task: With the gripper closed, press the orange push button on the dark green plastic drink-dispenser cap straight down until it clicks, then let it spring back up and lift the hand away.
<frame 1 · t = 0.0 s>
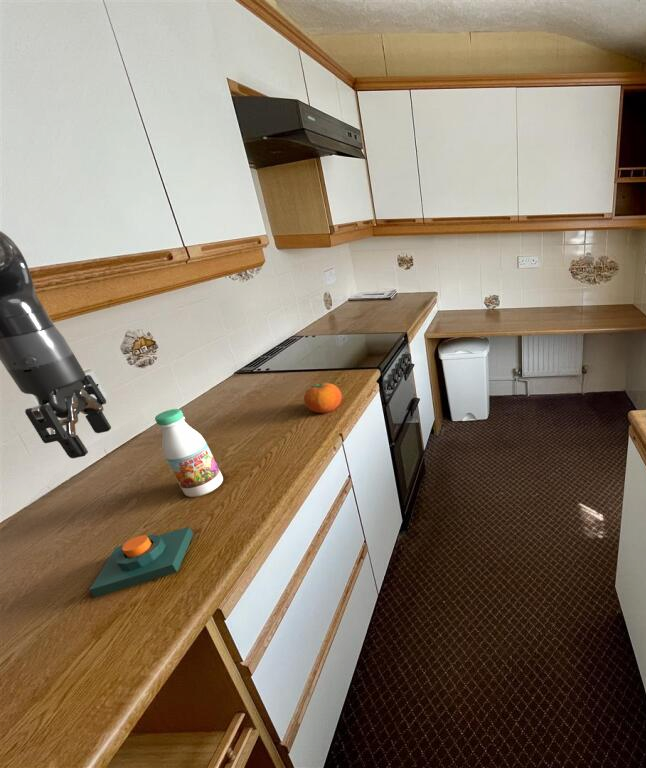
hand: (92, 443, 71), 23 cm above the counter, tool pointing down, fingers open, 8 cm apart
fruit: (326, 409, 127), on the counter
orange push button: (137, 546, 74), point 5 cm above the counter, slide at 0.2 cm
milk bottle: (205, 487, 96), on the counter
cap housing: (148, 563, 76), on the counter
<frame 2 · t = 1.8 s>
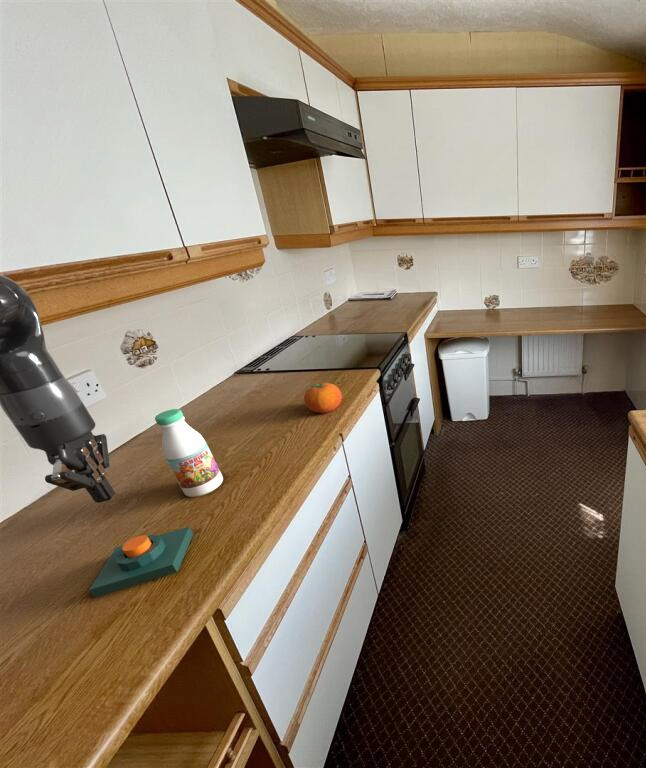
hand: (106, 498, 69), 16 cm above the counter, tool pointing down, fingers closed
nothing on the counter moved.
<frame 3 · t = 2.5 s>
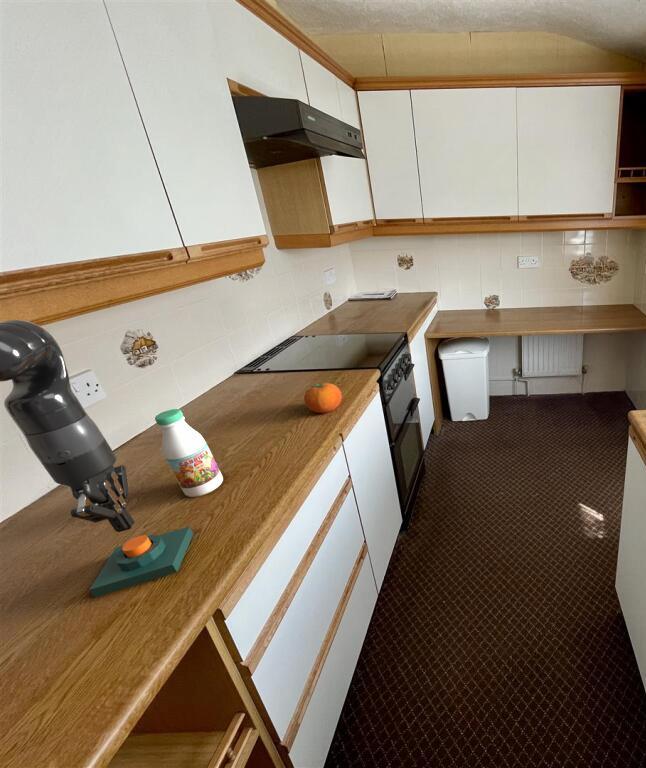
hand: (126, 527, 72), 9 cm above the counter, tool pointing down, fingers closed
nothing on the counter moved.
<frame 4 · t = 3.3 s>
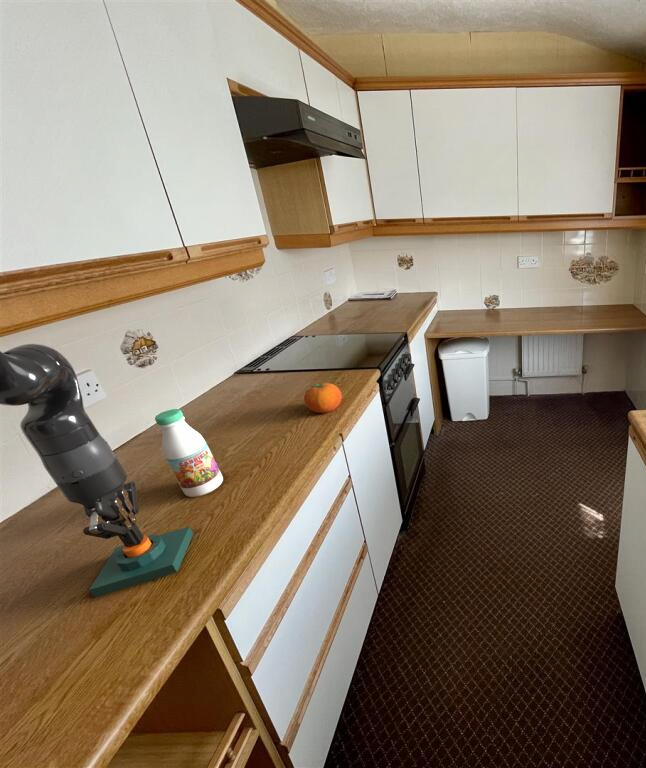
hand: (135, 543, 73), 5 cm above the counter, tool pointing down, fingers closed
orange push button: (137, 546, 74), point 4 cm above the counter, slide at 0.0 cm, touching gripper
everything else where it was.
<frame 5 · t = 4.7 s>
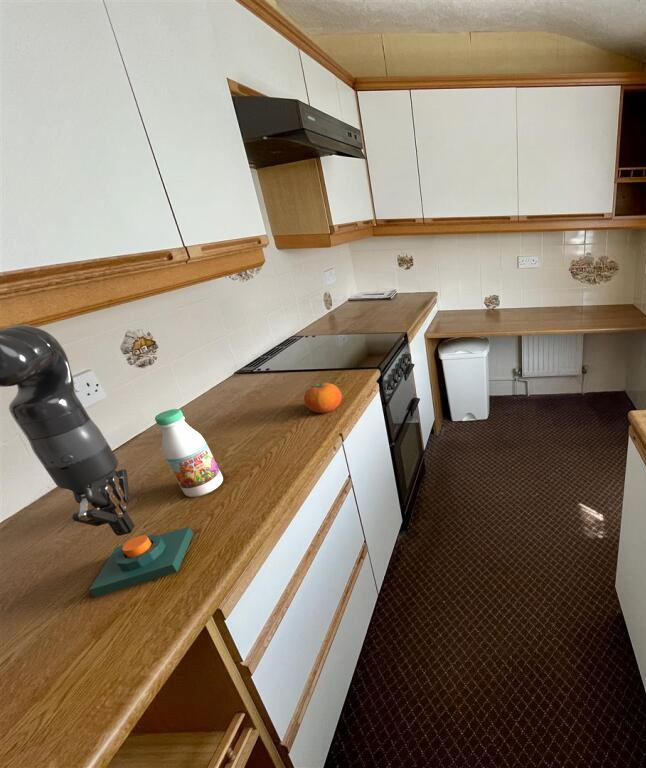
hand: (126, 531, 72), 8 cm above the counter, tool pointing down, fingers closed
orange push button: (137, 546, 74), point 5 cm above the counter, slide at 0.1 cm
everything else where it was.
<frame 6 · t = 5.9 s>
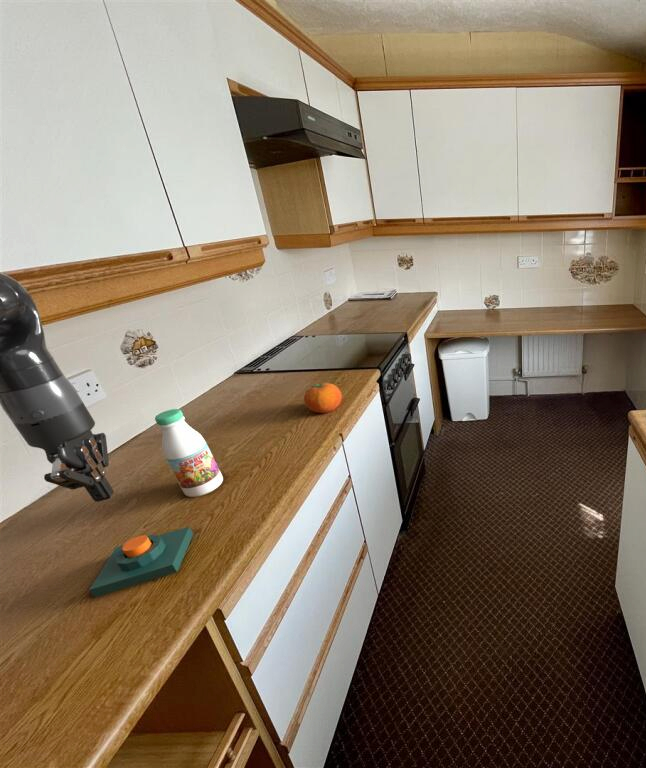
hand: (105, 497, 69), 16 cm above the counter, tool pointing down, fingers closed
nothing on the counter moved.
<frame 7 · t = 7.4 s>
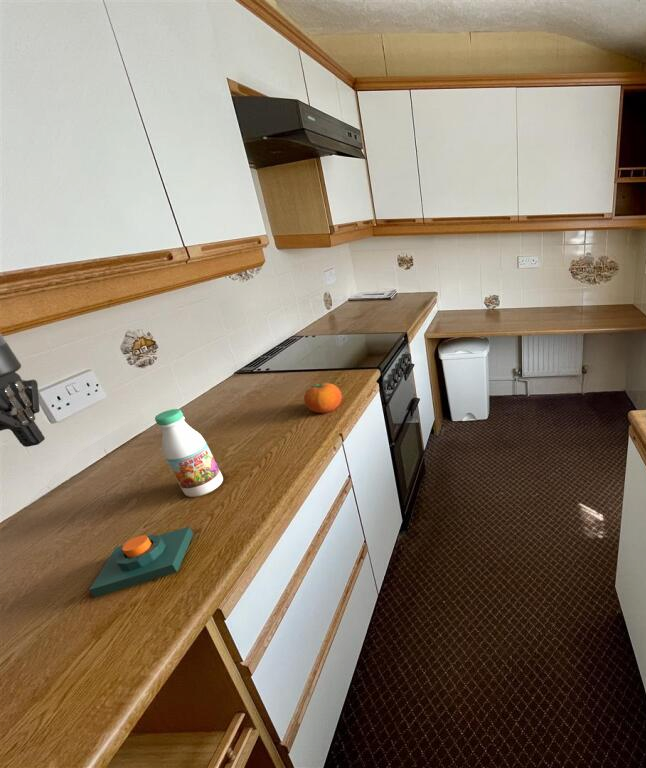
hand: (35, 443, 69), 25 cm above the counter, tool pointing down, fingers closed
nothing on the counter moved.
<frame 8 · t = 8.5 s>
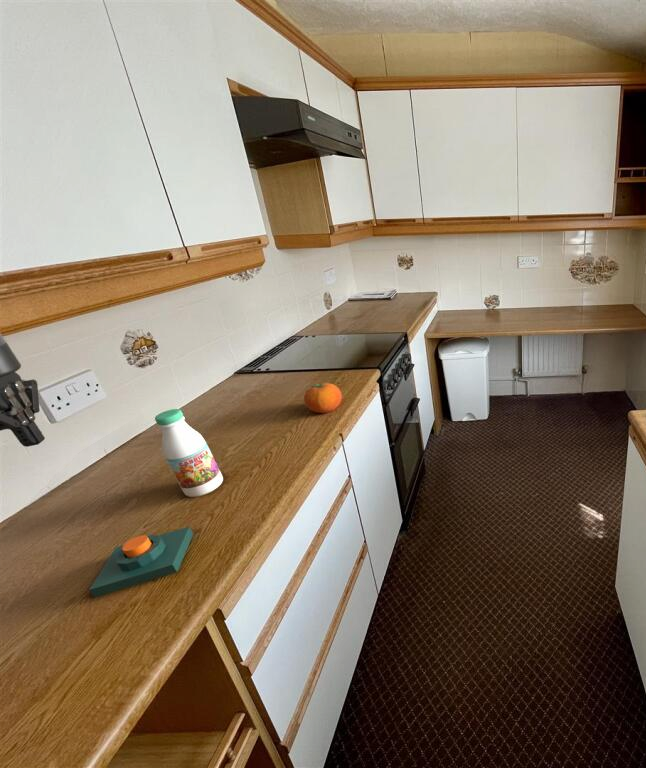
hand: (35, 443, 69), 25 cm above the counter, tool pointing down, fingers closed
nothing on the counter moved.
at the end: orange push button pushed in 1.1 cm at the most during the clip, back to where it started at the end; orange push button slide at 0.1 cm; milk bottle moved 0.2 cm from its start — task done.
